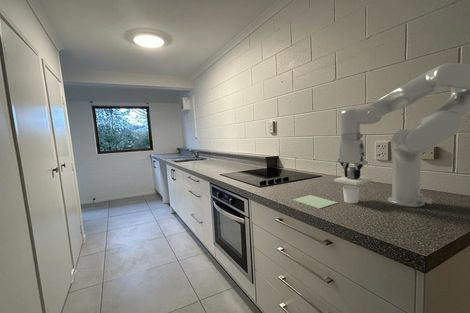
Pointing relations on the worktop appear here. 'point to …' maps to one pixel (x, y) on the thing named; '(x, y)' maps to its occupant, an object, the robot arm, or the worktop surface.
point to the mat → (315, 201)
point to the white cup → (351, 193)
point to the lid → (352, 178)
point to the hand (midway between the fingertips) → (352, 177)
